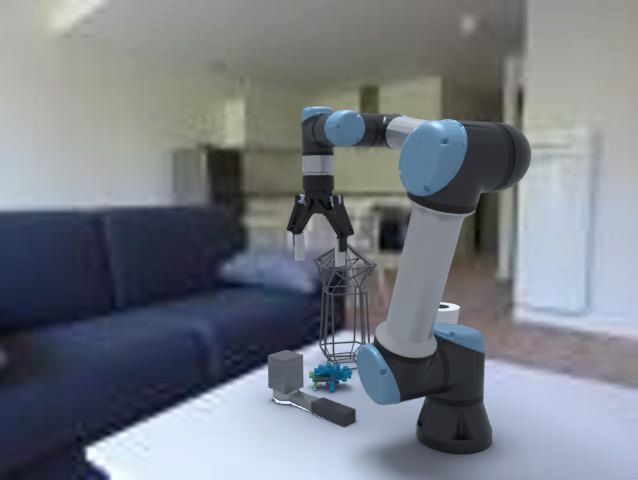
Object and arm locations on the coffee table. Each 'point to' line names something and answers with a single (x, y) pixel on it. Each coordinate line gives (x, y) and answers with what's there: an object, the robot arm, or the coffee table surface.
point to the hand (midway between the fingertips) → (319, 263)
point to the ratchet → (320, 406)
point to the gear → (330, 374)
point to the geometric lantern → (367, 266)
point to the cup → (447, 313)
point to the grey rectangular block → (285, 371)
